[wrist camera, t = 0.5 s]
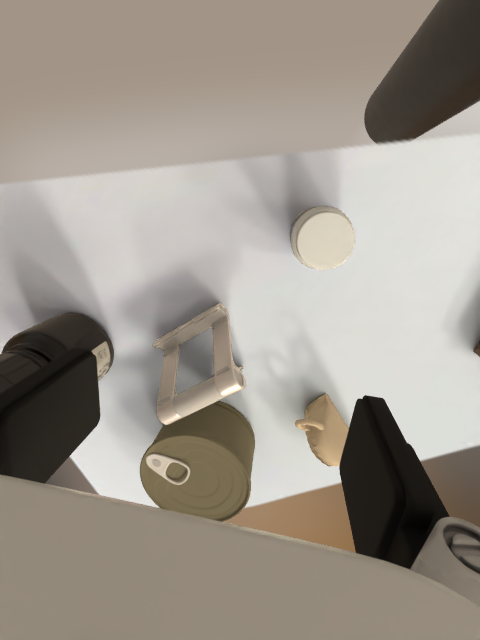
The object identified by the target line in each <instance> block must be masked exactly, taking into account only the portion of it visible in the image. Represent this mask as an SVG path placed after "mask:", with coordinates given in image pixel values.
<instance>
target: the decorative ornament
mask: <svg viewBox="0 0 480 640" xmlns="http://www.w3.org/2000/svg"><path fill="white" fill-rule="evenodd" d="M305 416H306V417H305V419H300V420H297V421H296V422H295V425H296V427H298V428H299V429H302V430H304V431H306V435H307V439H308V443H309V445H310V448H311V450H312V452H313V453H314V454H315V456H316V457H317V458H318V459H319V460H320V461H321V462H322V463H324V464H326V465H327V466H339V465H340V460H341V456H342V452H343V449H344V445H345V441H346V438H347V434H348V430H349V428H348V427H347V425H346V424H345V422H344V421H343V419H342V418H341V416H340V414H339V413H338V411H337V410H336V408H335V406H334V404H333V403H332V401H331V399H330V398H329V396H328V395H327V394H324V395H322V396H321V397H319V398H318V399H316V400H315V401H314V402H313V403H311V404H310V405H309V406H308V407H307V410H306V411H305ZM303 424H304V425H303Z"/></svg>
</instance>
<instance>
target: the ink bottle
mask: <svg viewBox="0 0 480 640" xmlns="http://www.w3.org/2000/svg"><path fill="white" fill-rule="evenodd" d="M74 347H76V348H82V349H88V350H91V351H92V352H93V354H94V355H96V358H97V372H98V381H99V380H100V379H101V378H102V377H103V376H104V375H105V374H106V373H107V372H108V371H109V369H110V367H111V365H112V363H113V358H114V350H113V346H112V343H111V341H110V339H109V337H108V335H107V334H106V332H105V331H104V330H103V329H102V328H101V327H100V326H99V325H98V324H97V323H96V322H95V321H93V320H92V319H90V318H88V317H86V316H84V315H82V314H78V313H65V314H61V315H58V316H56V317H53V318H51V319H49V320H47V321H44V322H42V323H40V324H38V325H35V326H33V327H31V328H29V329H26V330H24V331H22V332H20V333H18V334H16V335H15V336H13V337H12V338H11V339H10V340H9V341H8V342H7V343H6V345H5V346H4V348H3V351H2V354H0V393H1V392H3V391H5V390H6V389H8V388H9V387H11V386H13V385H14V384H16V383H17V382H19V381H21V380H22V379H24V378H25V377H27V376H29V375H30V374H32V373H33V372H35V371H37V370H38V369H40V368H41V367H43V366H45V365H46V364H48V363H49V362H51V361H53V360H54V359H56V358H57V357H59V356H61V355H62V354H64V353H65V352H67V351H69V350H70V349H72V348H74Z"/></svg>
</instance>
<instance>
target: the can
mask: <svg viewBox="0 0 480 640" xmlns="http://www.w3.org/2000/svg"><path fill="white" fill-rule="evenodd" d="M254 448H255V438H254V433H253V430H252V428H251V426H250V424H249V422H248V421H247V420H246V418H245V417H244V416H243V415H242V414H241V413H240V412H239V411H237V410H236V409H235V408H233V407H232V406H230V405H228V404H226V403H223V402H221V401H217V402H214V403H212V404H210V405H208V406H206V407H204V408H202V409H200V410H198V411H196V412H194V413H192V414H189V415H187V416H185V417H183V418H181V419H179V420H177V421H175V422H173V423H171V424H169V425H163V427H162V429H161V430H160V432H159V434H158V435H157V437H156V439H155V440H154V442H153V444H152V445H151V446H150V447H149V448H148V449H147V451H146V452H145V454H144V456H143V458H142V461H141V465H140V477H141V481H142V484H143V487H144V489H145V491H146V492H147V494H148V495H149V497H150V498H151V499H152V500H153V502H154V503H155V504H156V505H158V506H159V507H160V508H161V509H166V510H170V511H175V512H179V513H184V514H189V515H193V516H198V517H202V518H207V519H211V520H216V521H220V522H224V521H227V520H229V519H231V518H233V517H234V516H236V515H237V514H239V513H240V512H241V511H242V510H243V508H244V507H245V506H246V504H247V502H248V500H249V496H250V491H251V480H250V478H251V470H252V462H253V453H254Z"/></svg>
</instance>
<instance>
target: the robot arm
mask: <svg viewBox="0 0 480 640" xmlns="http://www.w3.org/2000/svg"><path fill="white" fill-rule="evenodd" d="M99 420H100V404H99V388H98V372H97V358H96V355H94V354H93V352H92V351H91V350H88V349H82V348H76V347H74V348H72V349H70V350H69V351H67V352H65V353H64V354H62V355H61V356H59V357H57V358H56V359H54V360H53V361H51V362H49V363H48V364H46V365H45V366H43V367H41V368H40V369H38V370H37V371H35V372H33V373H32V374H30V375H29V376H27V377H25V378H24V379H22V380H21V381H19V382H17V383H16V384H14V385H13V386H11V387H9V388H8V389H6V390H5V391H3V392H1V393H0V640H480V528H479V527H477V526H475V525H474V524H472V523H470V522H468V521H465V520H462V519H459V518H453V517H450V516H449V515H448V513H447V511H446V509H445V507H444V505H443V503H442V501H441V500H440V498H439V496H438V494H437V492H436V490H435V488H434V487H433V485H432V483H431V481H430V479H429V477H428V475H427V474H426V472H425V470H424V468H423V466H422V464H421V462H420V460H419V459H418V457H417V455H416V453H415V451H414V449H413V448H412V446H411V445H410V444H408V443H407V442H406V440H405V439H404V437H403V435H402V433H401V431H400V429H399V427H398V425H397V423H396V421H395V419H394V417H393V416H392V414H391V412H390V410H389V408H388V406H387V404H386V402H385V400H384V399H383V398H378V397H372V396H366V395H365V396H364V397H363V399H358V400H357V402H356V405H355V408H354V412H353V416H352V419H351V423H350V427H349V430H348V434H347V438H346V441H345V445H344V449H343V452H342V456H341V460H340V476H341V481H342V486H343V491H344V496H345V501H346V506H347V511H348V515H349V520H350V525H351V530H352V535H353V540H354V545H355V550H356V553H354V552H351V551H346V550H342V549H339V548H335V547H330V546H326V545H322V544H317V543H313V542H308V541H305V540H301V539H296V538H292V537H288V536H283V535H279V534H274V533H270V532H265V531H261V530H256V529H252V528H247V527H243V526H238V525H234V524H229V523H225V522H220V521H216V520H211V519H207V518H202V517H198V516H193V515H189V514H184V513H179V512H175V511H170V510H166V509H161V508H156V507H152V506H147V505H143V504H138V503H133V502H129V501H124V500H119V499H115V498H110V497H105V496H101V495H96V494H91V493H86V492H81V491H76V490H72V489H67V488H63V487H58V486H53V485H48V484H45V483H46V481H47V480H48V479H49V478H50V477H51V476H52V475H53V474H54V473H55V471H56V470H57V469H58V468H59V467H60V466H61V465H62V464H63V463H64V462H65V460H66V459H67V458H68V457H69V456H70V455H71V454H72V453H73V452H74V450H75V449H76V448H77V447H78V446H79V445H80V444H81V443H82V441H83V440H84V439H85V438H86V437H87V436H88V435H89V434H90V433H91V431H92V430H93V429H94V428H95V427H96V426H97V424H98V422H99Z"/></svg>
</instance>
